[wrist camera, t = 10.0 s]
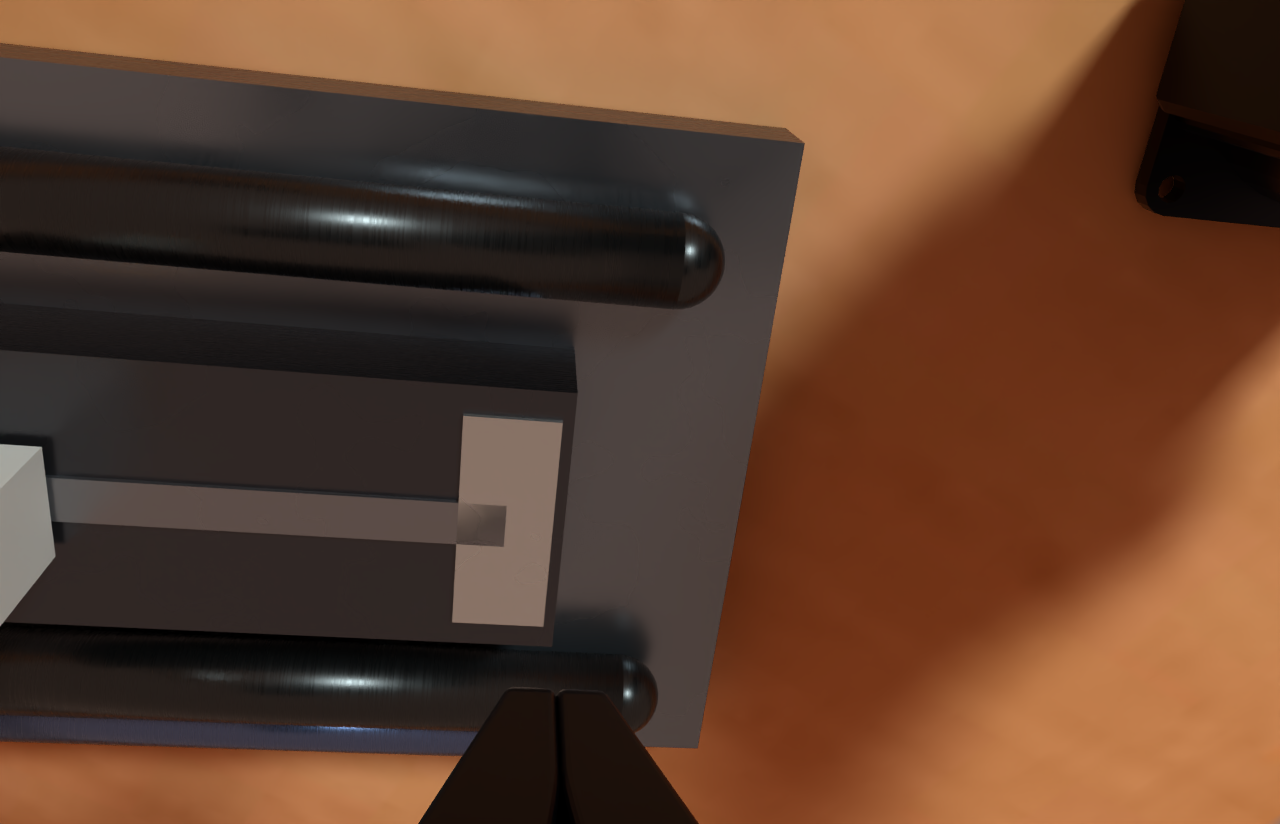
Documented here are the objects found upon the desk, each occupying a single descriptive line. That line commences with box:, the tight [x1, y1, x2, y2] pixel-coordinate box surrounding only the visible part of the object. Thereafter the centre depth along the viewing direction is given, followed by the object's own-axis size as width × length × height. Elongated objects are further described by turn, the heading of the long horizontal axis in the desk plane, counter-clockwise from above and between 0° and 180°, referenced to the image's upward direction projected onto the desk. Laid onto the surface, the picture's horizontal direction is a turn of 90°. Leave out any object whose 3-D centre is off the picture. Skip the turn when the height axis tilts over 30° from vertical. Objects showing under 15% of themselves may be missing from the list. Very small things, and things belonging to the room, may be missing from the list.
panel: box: [0, 43, 805, 756], centre depth 19 cm, size 18×13×4 cm
